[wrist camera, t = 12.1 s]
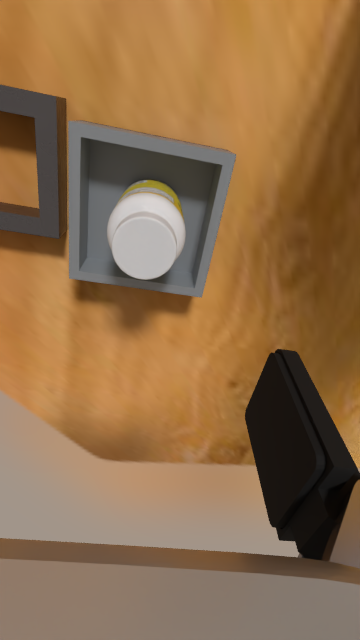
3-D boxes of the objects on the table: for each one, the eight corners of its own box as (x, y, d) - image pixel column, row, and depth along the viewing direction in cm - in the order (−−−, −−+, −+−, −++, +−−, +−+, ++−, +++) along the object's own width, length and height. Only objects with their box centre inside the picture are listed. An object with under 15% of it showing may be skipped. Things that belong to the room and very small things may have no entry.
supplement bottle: (171, 249, 29) (172, 300, 21) (113, 231, 28) (90, 277, 20) (191, 190, 27) (200, 221, 18) (127, 167, 26) (107, 190, 17)
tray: (227, 150, 26) (236, 154, 23) (198, 278, 32) (201, 297, 29) (82, 120, 25) (68, 120, 21) (79, 260, 31) (69, 278, 27)
